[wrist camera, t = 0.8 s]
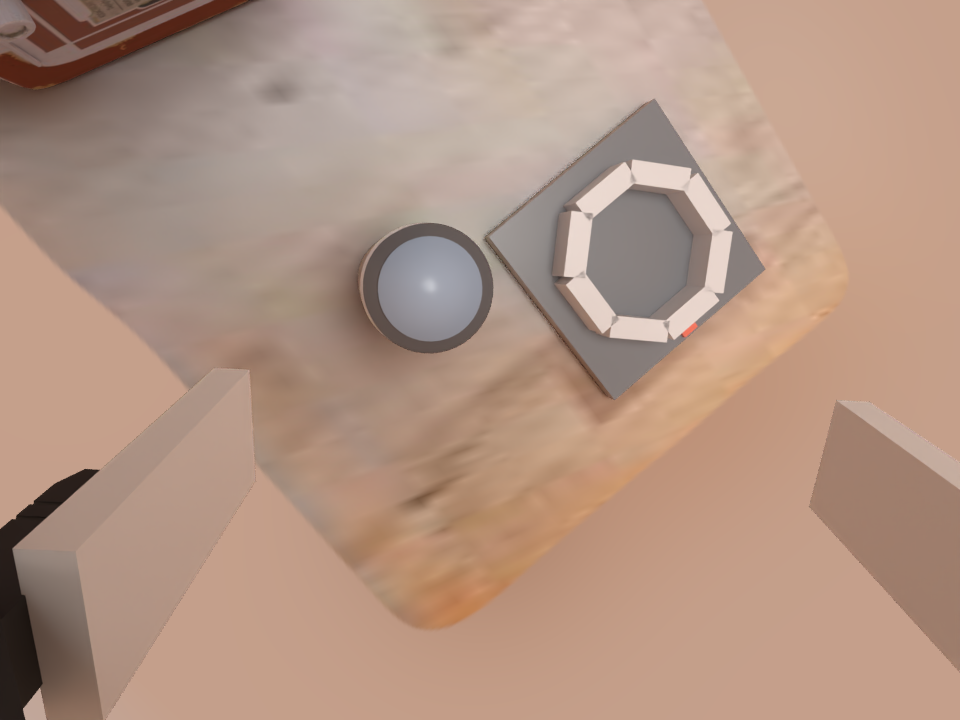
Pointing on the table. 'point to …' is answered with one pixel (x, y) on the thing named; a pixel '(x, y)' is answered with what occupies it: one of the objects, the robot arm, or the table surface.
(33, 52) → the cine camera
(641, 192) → the mount plate
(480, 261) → the lens
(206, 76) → the table surface
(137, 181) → the table surface
